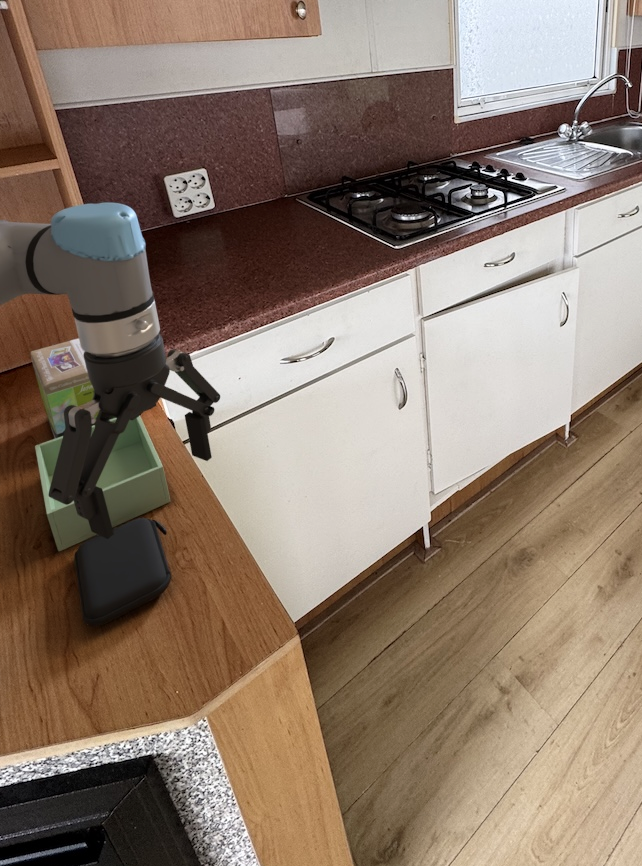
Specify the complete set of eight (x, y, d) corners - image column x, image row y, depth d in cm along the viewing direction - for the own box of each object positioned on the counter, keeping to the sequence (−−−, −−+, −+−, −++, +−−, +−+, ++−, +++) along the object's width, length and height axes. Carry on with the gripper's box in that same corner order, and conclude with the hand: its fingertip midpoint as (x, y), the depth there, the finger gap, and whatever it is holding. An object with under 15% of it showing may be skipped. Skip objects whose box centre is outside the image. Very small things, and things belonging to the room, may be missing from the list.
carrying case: (185, 590, 76) (161, 519, 86) (181, 572, 75) (158, 503, 85) (87, 640, 69) (75, 557, 80) (81, 622, 68) (70, 541, 79)
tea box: (129, 434, 104) (112, 363, 99) (62, 461, 98) (40, 386, 93) (109, 397, 114) (93, 331, 109) (47, 419, 108) (26, 350, 103)
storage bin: (58, 552, 81) (46, 514, 79) (45, 479, 94) (34, 445, 91) (170, 501, 90) (163, 466, 87) (144, 442, 102) (137, 409, 100)
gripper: (20, 413, 52) (73, 586, 59) (235, 302, 74) (255, 438, 81) (-29, 393, 55) (27, 561, 62) (192, 291, 77) (215, 424, 84)
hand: (156, 491), depth 72 cm, fingers open, 13 cm apart
